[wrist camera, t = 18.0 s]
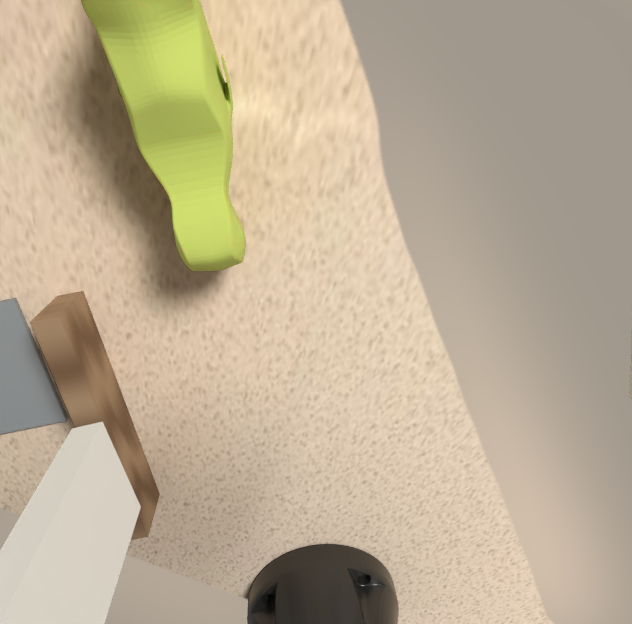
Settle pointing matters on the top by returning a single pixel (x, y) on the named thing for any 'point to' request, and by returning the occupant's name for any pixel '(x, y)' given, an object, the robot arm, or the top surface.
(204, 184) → the toy
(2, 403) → the grey mat
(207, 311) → the top surface
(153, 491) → the walnut wall
